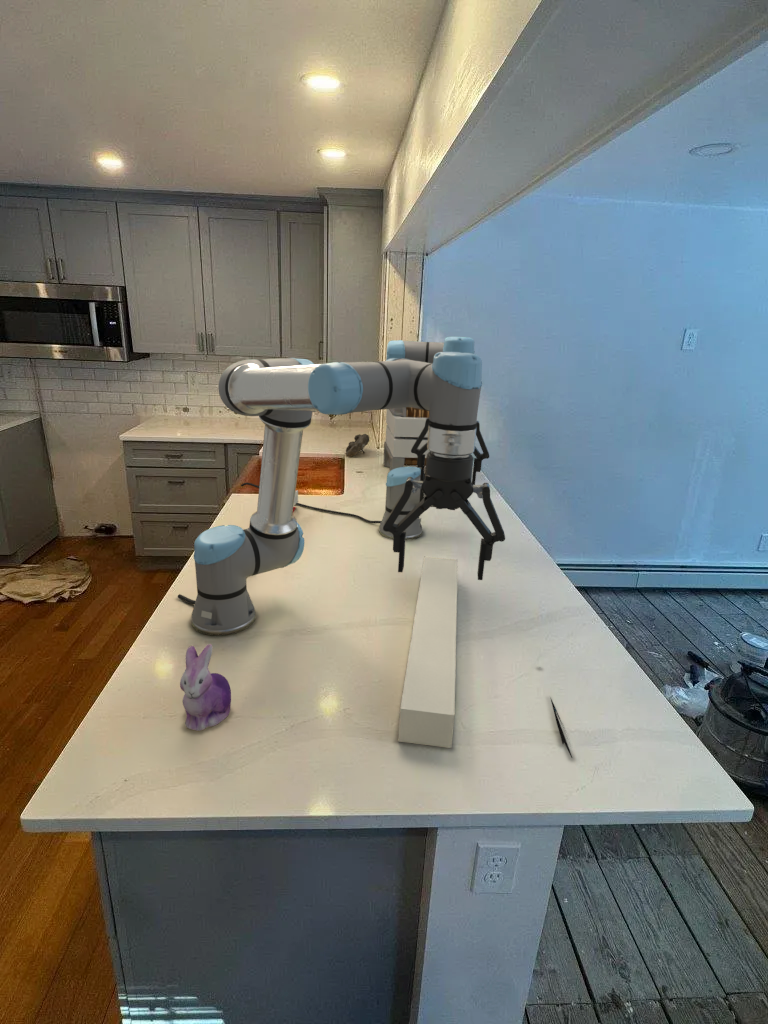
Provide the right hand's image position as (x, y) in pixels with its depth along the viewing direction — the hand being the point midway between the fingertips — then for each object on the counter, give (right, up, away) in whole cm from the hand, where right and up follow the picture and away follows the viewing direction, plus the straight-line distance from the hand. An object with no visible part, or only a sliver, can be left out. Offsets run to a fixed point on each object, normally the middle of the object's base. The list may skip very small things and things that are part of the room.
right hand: (447, 481), depth 150 cm
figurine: (-50, -47, -42) cm, 81 cm away
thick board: (-5, -39, -15) cm, 43 cm away
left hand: (-7, -19, -53) cm, 56 cm away
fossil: (-31, +24, +157) cm, 162 cm away
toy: (-56, -10, +59) cm, 82 cm away
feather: (+17, -48, -36) cm, 62 cm away
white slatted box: (0, +11, +125) cm, 125 cm away
